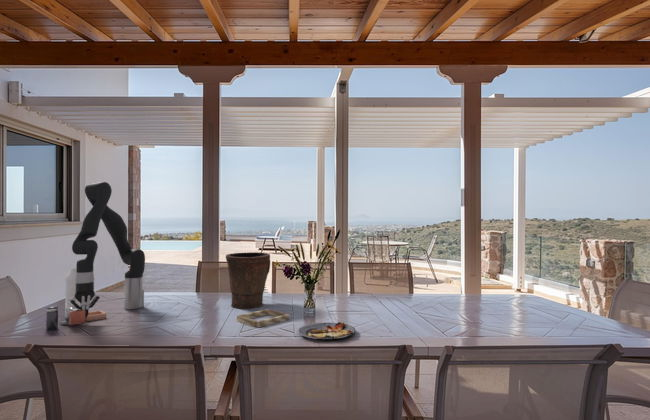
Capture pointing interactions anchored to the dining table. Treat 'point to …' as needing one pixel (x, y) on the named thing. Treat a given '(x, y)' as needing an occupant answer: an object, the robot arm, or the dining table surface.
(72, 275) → the water bottle
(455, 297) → the dining table surface
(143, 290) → the robot arm
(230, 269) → the clay pot
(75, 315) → the crank
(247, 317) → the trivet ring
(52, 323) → the peg
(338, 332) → the food plate
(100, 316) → the tray
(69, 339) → the dining table surface
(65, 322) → the base
